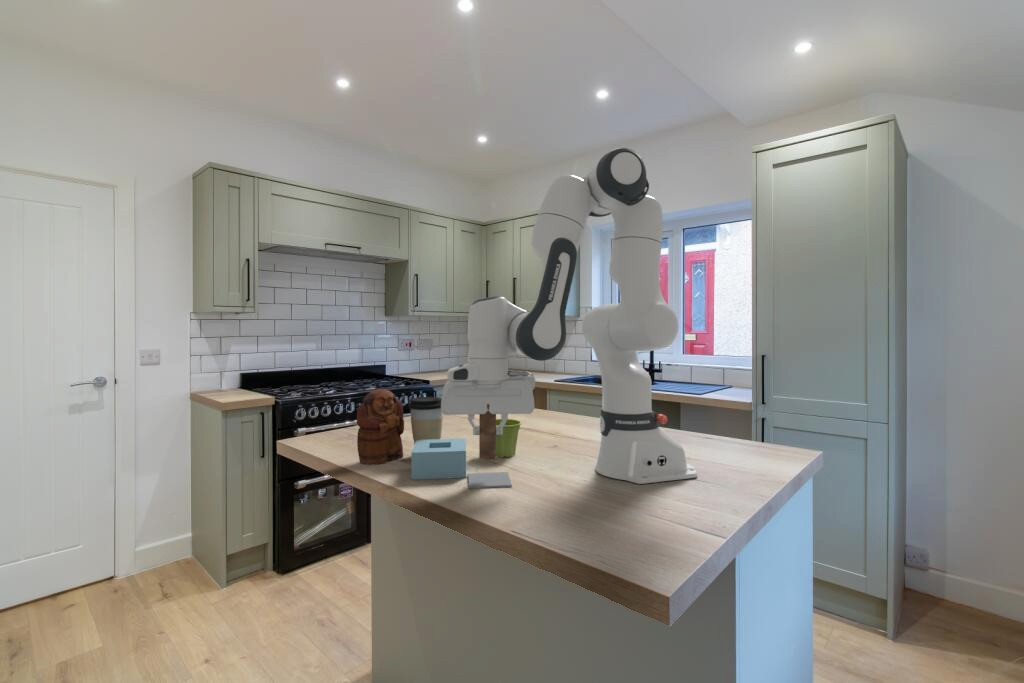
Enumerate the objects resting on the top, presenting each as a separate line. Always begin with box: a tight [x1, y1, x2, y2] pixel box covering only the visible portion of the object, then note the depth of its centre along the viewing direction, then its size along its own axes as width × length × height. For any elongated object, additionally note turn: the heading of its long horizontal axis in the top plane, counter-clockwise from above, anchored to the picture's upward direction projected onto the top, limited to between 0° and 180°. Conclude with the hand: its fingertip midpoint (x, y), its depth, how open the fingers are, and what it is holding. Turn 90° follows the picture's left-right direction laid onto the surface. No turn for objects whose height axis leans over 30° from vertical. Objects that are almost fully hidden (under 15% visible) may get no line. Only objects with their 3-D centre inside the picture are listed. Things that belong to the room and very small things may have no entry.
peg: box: [478, 404, 497, 461], centre depth 105 cm, size 4×4×12 cm
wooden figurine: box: [356, 388, 405, 465], centre depth 123 cm, size 12×6×18 cm, turn 142°
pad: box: [467, 471, 513, 489], centre depth 106 cm, size 9×9×1 cm
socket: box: [410, 438, 467, 480], centre depth 113 cm, size 12×12×6 cm
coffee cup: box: [407, 396, 444, 446], centre depth 126 cm, size 9×9×15 cm
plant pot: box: [496, 418, 522, 458], centre depth 127 cm, size 9×9×9 cm
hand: (487, 434), depth 105 cm, fingers closed on peg, 4 cm apart
